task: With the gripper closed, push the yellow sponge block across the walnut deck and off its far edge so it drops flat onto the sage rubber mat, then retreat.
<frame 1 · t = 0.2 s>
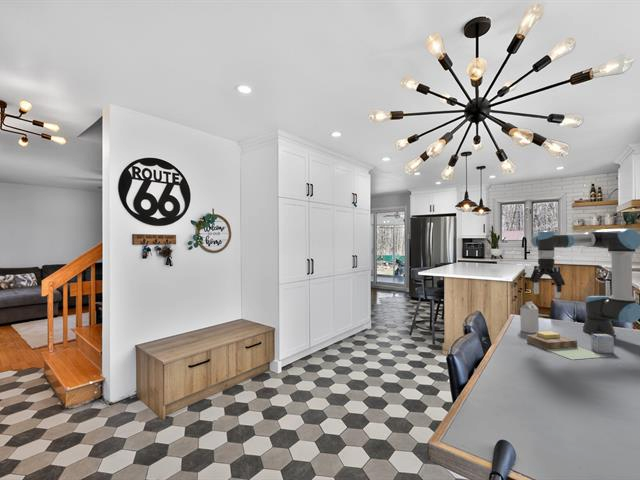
hand: (546, 295, 177), 27 cm above the table, fingers open, 13 cm apart
medicine box: (602, 351, 164), on the table
mat: (575, 353, 161), on the table
milk carton: (529, 331, 201), on the table
deck: (551, 344, 175), on the table
yellow sponge block: (548, 336, 177), point 4 cm above the table, touching deck
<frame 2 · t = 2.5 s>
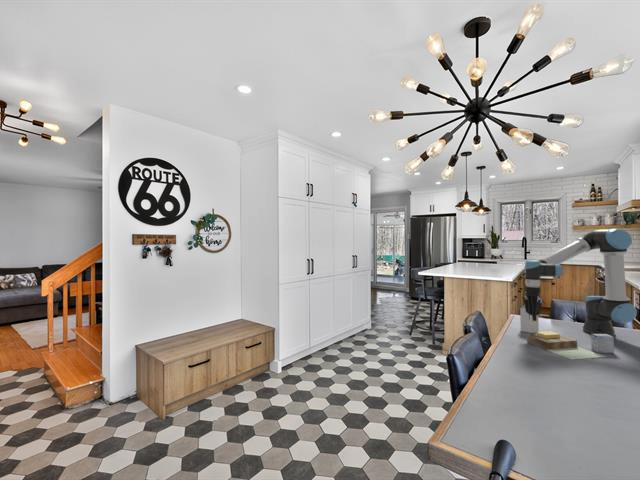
hand: (532, 325, 187), 7 cm above the table, fingers closed
nothing on the table moved.
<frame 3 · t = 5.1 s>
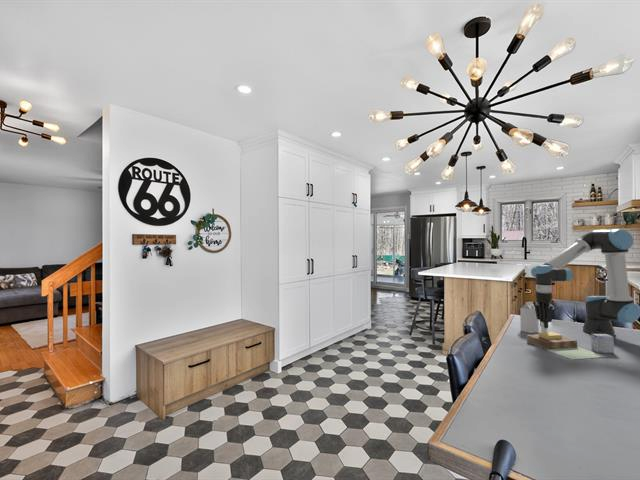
hand: (544, 333, 179), 5 cm above the table, fingers closed
yellow sponge block: (550, 337, 176), point 4 cm above the table, touching deck, gripper
everything else where it was.
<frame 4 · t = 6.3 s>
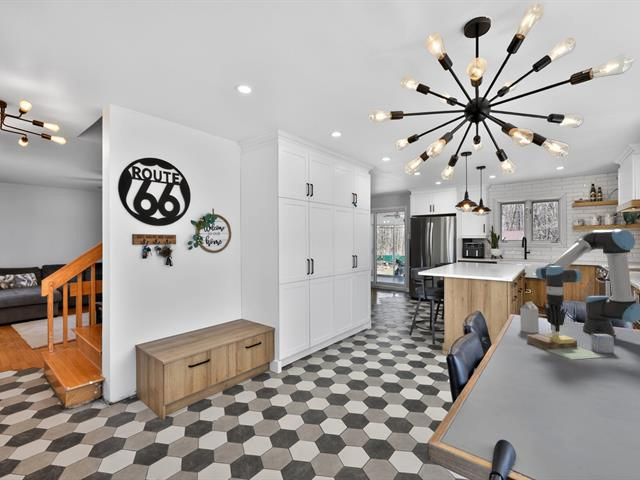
hand: (555, 336, 172), 5 cm above the table, fingers closed
yellow sponge block: (561, 341, 169), point 4 cm above the table, touching gripper
everything else where it was.
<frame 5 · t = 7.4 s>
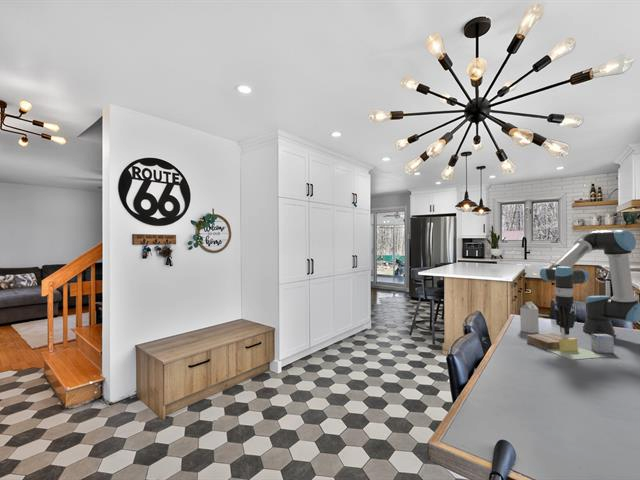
hand: (564, 339, 167), 5 cm above the table, fingers closed
yellow sponge block: (566, 344, 166), point 3 cm above the table, tilted 87°, touching gripper, mat
everything else where it was.
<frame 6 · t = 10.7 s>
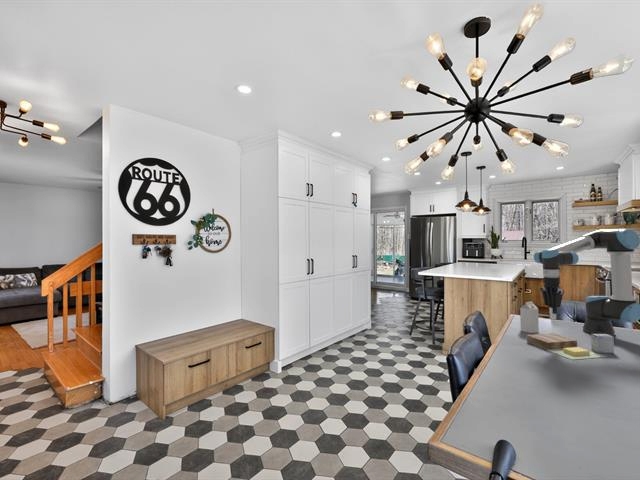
hand: (553, 319, 175), 15 cm above the table, fingers closed
yellow sponge block: (576, 349, 161), point 2 cm above the table, tilted 180°, touching mat
everything else where it was.
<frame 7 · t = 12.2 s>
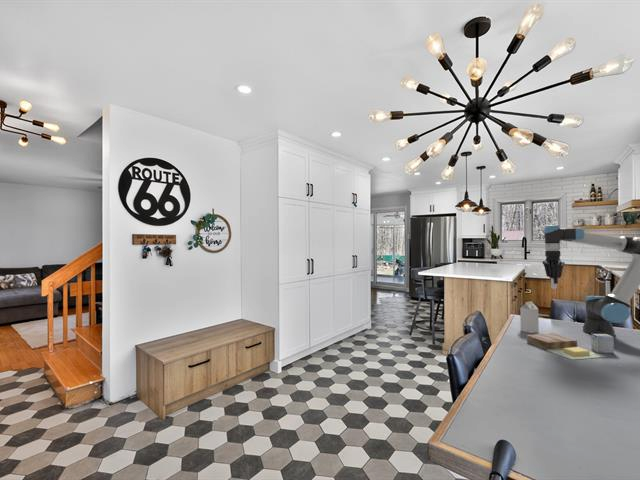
hand: (554, 288, 192), 29 cm above the table, fingers closed
nothing on the table moved.
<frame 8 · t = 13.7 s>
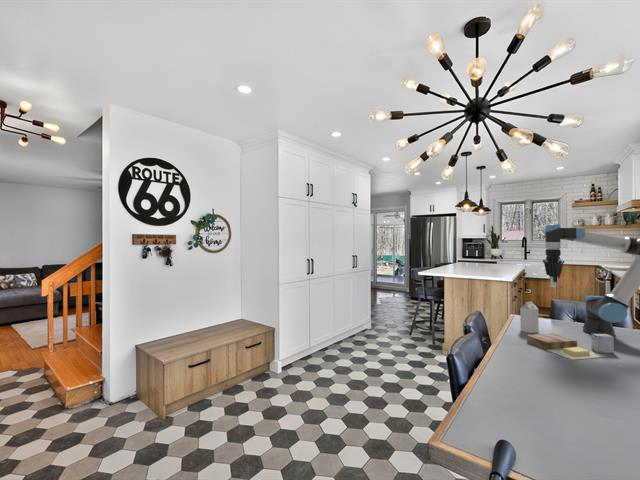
hand: (553, 287, 194), 29 cm above the table, fingers closed
nothing on the table moved.
at the end: yellow sponge block point 2.3 cm above the table; yellow sponge block inside the target area on the mat (0.4 cm from its centre), point 2.3 cm above the mat's base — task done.
